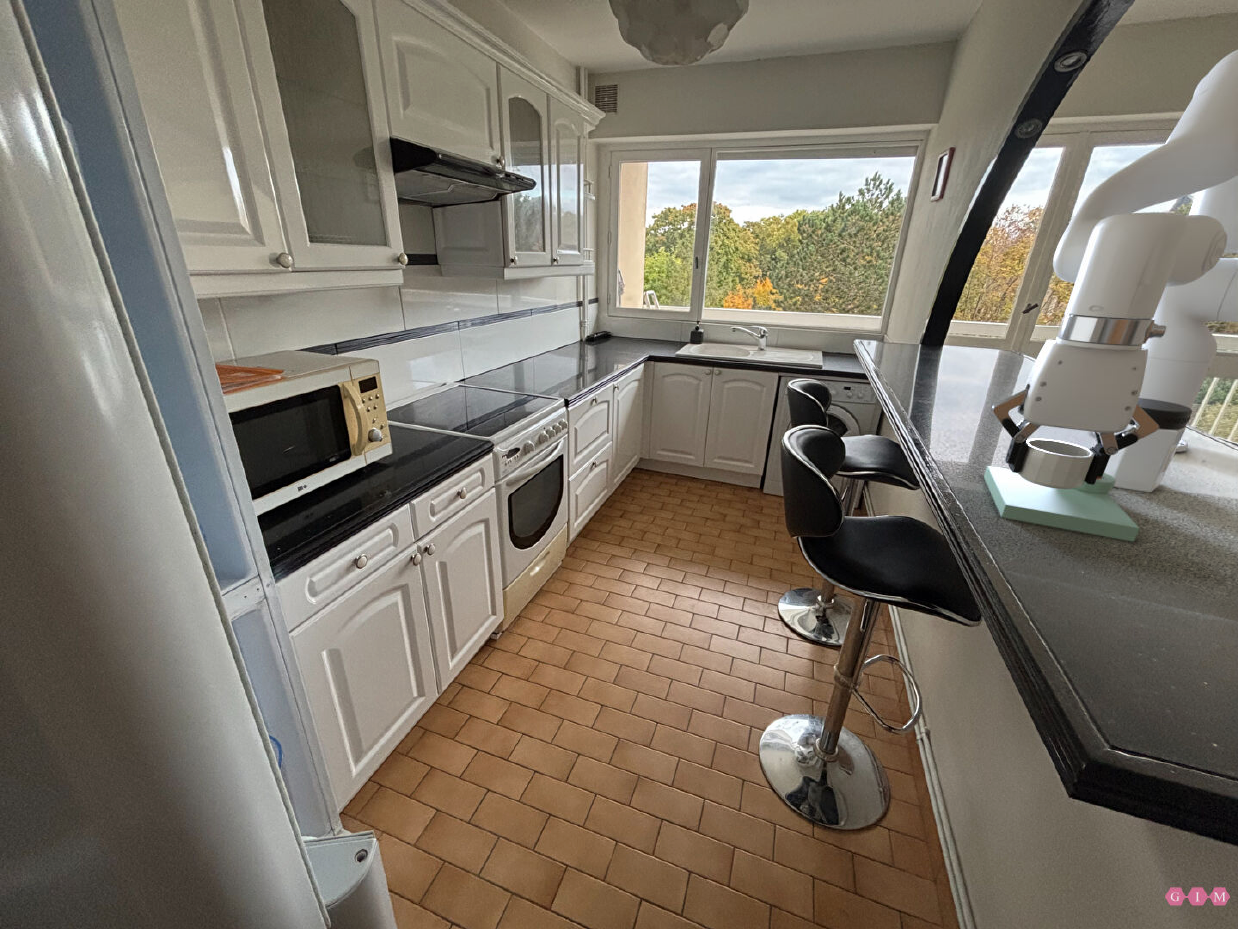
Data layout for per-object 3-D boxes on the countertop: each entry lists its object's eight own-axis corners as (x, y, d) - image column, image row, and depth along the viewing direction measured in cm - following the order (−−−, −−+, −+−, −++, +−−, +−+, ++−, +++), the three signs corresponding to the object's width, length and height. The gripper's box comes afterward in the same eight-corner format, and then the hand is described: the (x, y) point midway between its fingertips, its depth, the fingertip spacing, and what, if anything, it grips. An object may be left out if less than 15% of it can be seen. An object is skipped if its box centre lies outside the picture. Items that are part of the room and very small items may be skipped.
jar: (1147, 497, 71) (1184, 415, 67) (1075, 477, 78) (1105, 401, 73) (1165, 483, 76) (1201, 406, 71) (1096, 466, 82) (1124, 394, 78)
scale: (982, 475, 78) (989, 453, 77) (1097, 493, 72) (1106, 470, 71) (1001, 517, 65) (1009, 493, 64) (1143, 544, 59) (1155, 517, 58)
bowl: (1009, 466, 69) (1020, 435, 68) (1072, 476, 66) (1084, 444, 65) (1020, 484, 64) (1031, 451, 62) (1089, 495, 61) (1103, 461, 59)
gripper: (1187, 334, 58) (1125, 477, 64) (1003, 324, 65) (965, 454, 71) (1223, 343, 51) (1151, 500, 58) (1015, 330, 59) (973, 472, 65)
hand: (1049, 473), depth 65 cm, fingers closed on bowl, 6 cm apart
